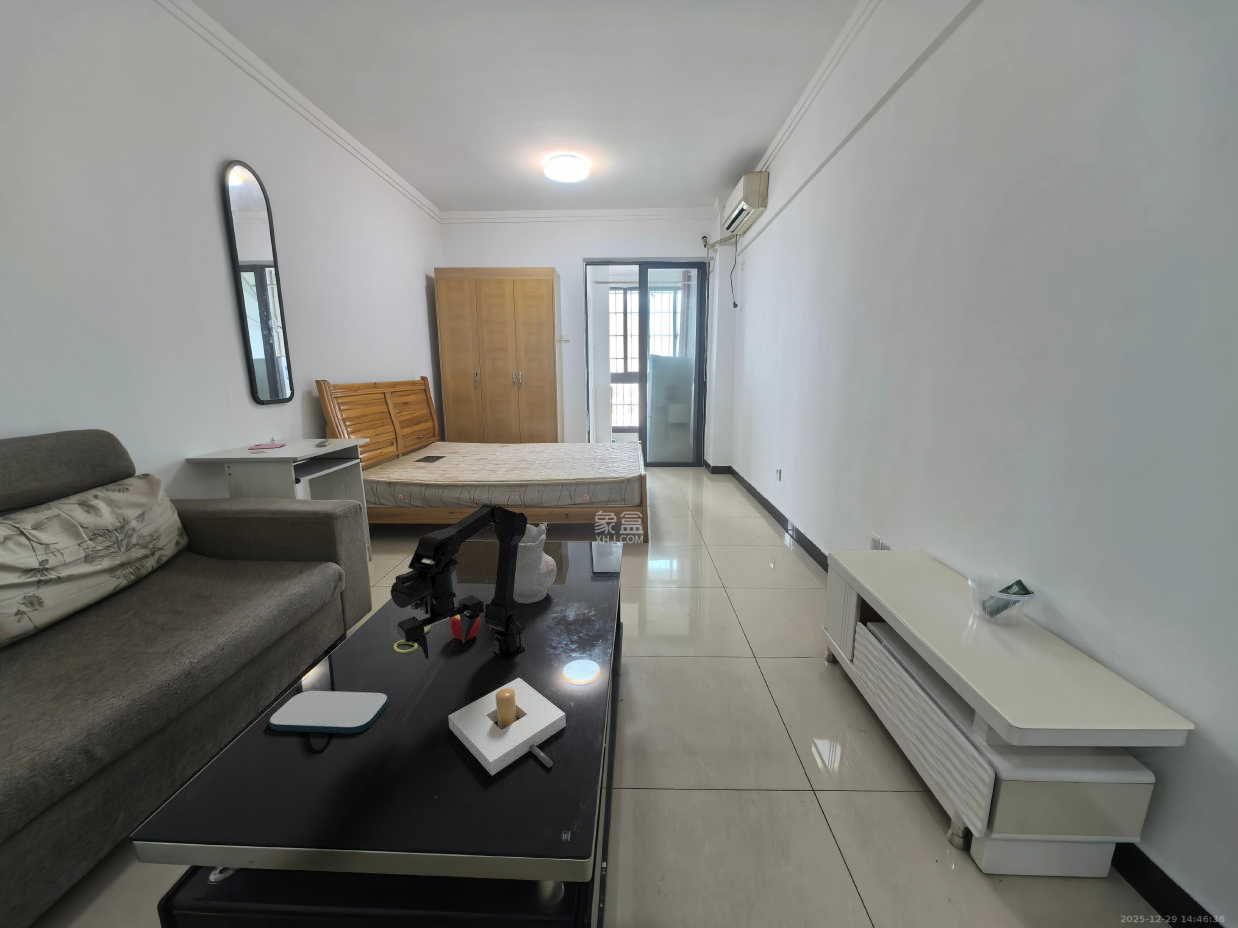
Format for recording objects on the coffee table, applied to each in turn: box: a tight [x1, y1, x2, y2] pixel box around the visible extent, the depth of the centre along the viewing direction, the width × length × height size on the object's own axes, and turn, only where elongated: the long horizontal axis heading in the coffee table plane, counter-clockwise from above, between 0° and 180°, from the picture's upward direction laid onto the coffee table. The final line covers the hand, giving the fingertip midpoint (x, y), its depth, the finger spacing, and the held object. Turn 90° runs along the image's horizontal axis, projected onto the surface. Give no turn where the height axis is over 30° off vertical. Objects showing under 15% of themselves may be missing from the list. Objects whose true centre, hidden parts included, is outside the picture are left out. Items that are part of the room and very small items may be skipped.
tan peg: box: [496, 688, 518, 730], centre depth 102 cm, size 4×4×8 cm
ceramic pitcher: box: [513, 523, 557, 605], centre depth 160 cm, size 22×20×25 cm
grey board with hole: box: [447, 677, 567, 776], centre depth 100 cm, size 18×24×3 cm
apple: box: [449, 615, 481, 641], centre depth 138 cm, size 8×8×10 cm
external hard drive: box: [268, 690, 389, 734], centre depth 108 cm, size 24×12×2 cm, turn 86°
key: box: [392, 625, 432, 654], centre depth 137 cm, size 7×12×2 cm, turn 177°
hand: (445, 650), depth 111 cm, fingers open, 9 cm apart
